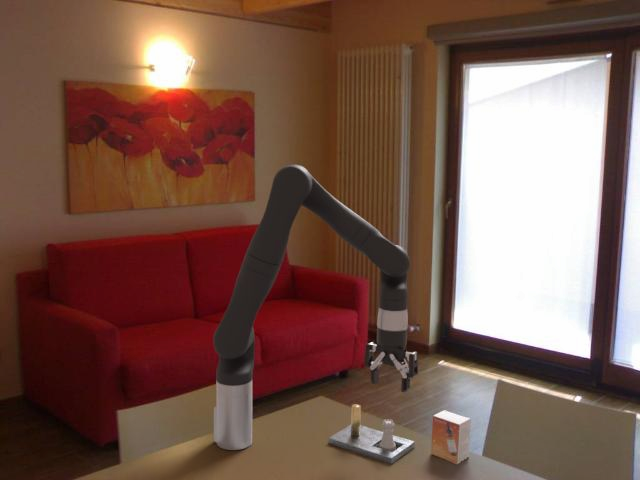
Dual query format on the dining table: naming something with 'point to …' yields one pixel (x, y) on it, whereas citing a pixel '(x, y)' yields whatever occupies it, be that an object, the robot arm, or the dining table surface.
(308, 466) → the dining table surface
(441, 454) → the small box
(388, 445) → the rook chess piece
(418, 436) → the dining table surface
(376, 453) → the bolt plate
